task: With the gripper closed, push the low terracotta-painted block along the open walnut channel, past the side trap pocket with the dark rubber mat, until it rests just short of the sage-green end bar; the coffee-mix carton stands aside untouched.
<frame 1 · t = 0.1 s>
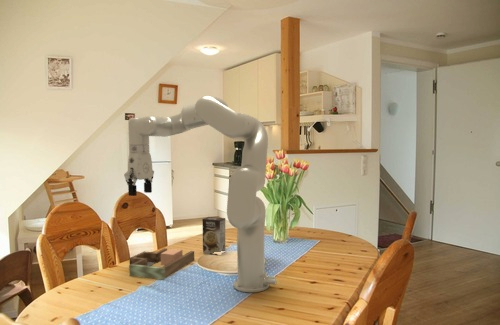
hand: (140, 194, 143), 31 cm above the table, fingers open, 9 cm apart
trap mat: (146, 264, 155), on the table
channel: (164, 266, 152), on the table
coffee box: (214, 253, 171), on the table
block: (172, 263, 157), on the table
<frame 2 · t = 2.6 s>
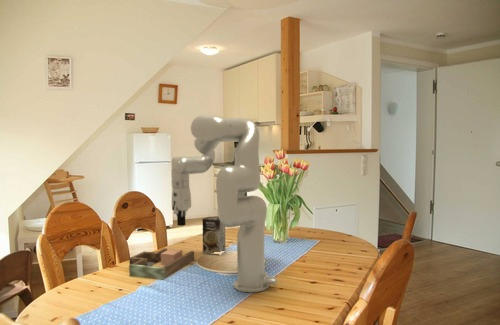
hand: (181, 225, 165), 14 cm above the table, fingers closed
nothing on the table moved.
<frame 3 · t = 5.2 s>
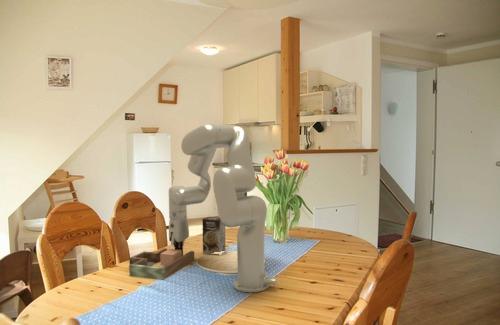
hand: (178, 255, 162), 1 cm above the table, fingers closed
block: (171, 263, 157), on the table, touching gripper
everything else where it was.
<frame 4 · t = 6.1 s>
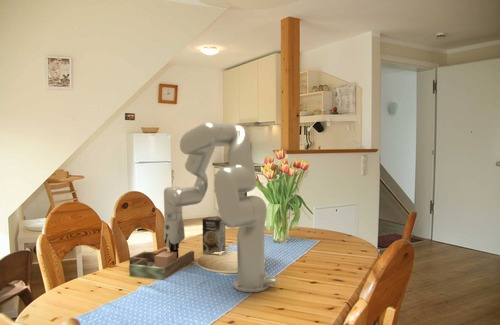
hand: (174, 258, 159), 1 cm above the table, fingers closed
block: (166, 265, 153), on the table, touching gripper
everything else where it was.
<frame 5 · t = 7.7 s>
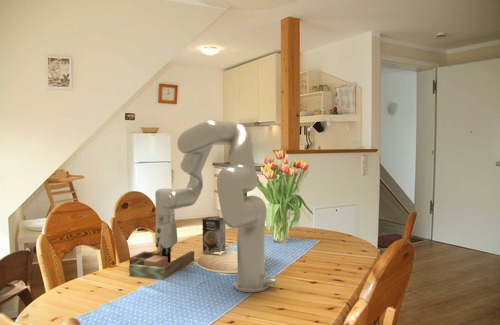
hand: (166, 262, 153), 1 cm above the table, fingers closed
block: (156, 270, 148), on the table, touching gripper
everything else where it was.
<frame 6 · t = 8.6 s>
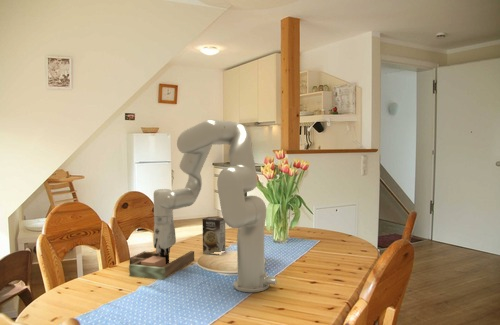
hand: (164, 263, 152), 1 cm above the table, fingers closed
block: (153, 271, 146), on the table
everything else where it was.
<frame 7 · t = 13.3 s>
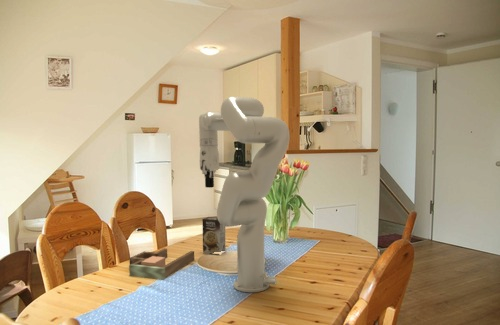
hand: (209, 187, 155), 32 cm above the table, fingers closed
nothing on the table moved.
at the end: block inside the target area (1.3 cm from its centre), on the table; block tilted 0°; the gripper is holding nothing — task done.
